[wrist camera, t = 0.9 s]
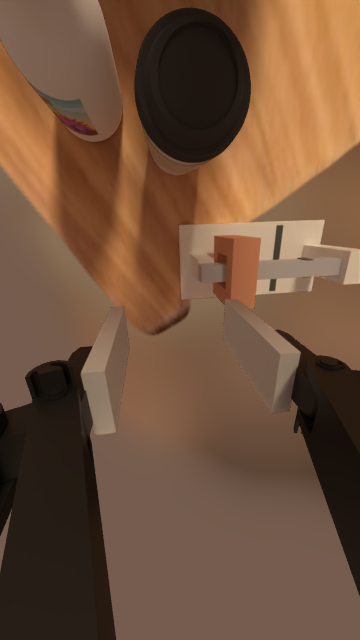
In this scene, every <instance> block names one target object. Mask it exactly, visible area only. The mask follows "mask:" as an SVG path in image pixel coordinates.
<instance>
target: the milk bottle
mask: <svg viewBox="0 0 360 640" xmlns="http://www.w3.org/2000/svg"><path fill="white" fill-rule="evenodd" d="M0 40H1V42H2V44H3V46H4V47H5V49H6V51H7V53H8V54H9V56H10V57H11V59H12V61H13V62H14V64H15V65H16V67H17V68H18V69H19V70H20V72H21V73H22V74H23V76H24V77H25V78H26V80H27V81H28V82H29V84H30V85H31V86H32V87H33V89H34V90H35V91H36V92H37V93H38V95H39V96H40V97H41V98H42V99H43V101H44V102H45V103H46V104H47V105H48V107H49V108H50V109H51V110H52V111H53V112H54V114H55V115H56V116H57V117H58V118H59V119H60V121H61V122H62V123H63V124H64V125H65V126H66V127H67V128H68V129H69V130H70V131H71V132H72V133H73V134H74V135H76V136H77V137H79V138H81V139H83V140H86V141H90V142H99V141H103V140H105V139H107V138H109V137H110V136H111V135H113V134H114V132H115V131H116V130H117V128H118V126H119V124H120V122H121V118H122V113H123V102H122V95H121V89H120V85H119V80H118V75H117V70H116V66H115V61H114V57H113V52H112V48H111V43H110V39H109V35H108V31H107V28H106V24H105V20H104V17H103V13H102V10H101V7H100V5H99V2H98V0H0Z"/></svg>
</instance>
